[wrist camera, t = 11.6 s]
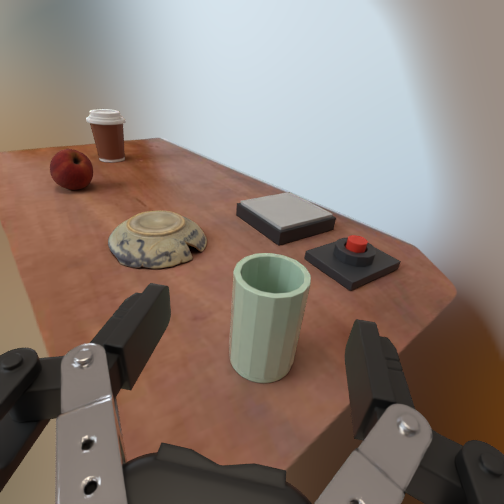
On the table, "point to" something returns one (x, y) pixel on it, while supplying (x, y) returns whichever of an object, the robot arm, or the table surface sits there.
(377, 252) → the panel
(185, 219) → the decorative bowl
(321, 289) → the table surface
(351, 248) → the button
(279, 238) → the scale
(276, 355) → the cup
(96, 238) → the table surface
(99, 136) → the coffee cup
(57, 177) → the apple
